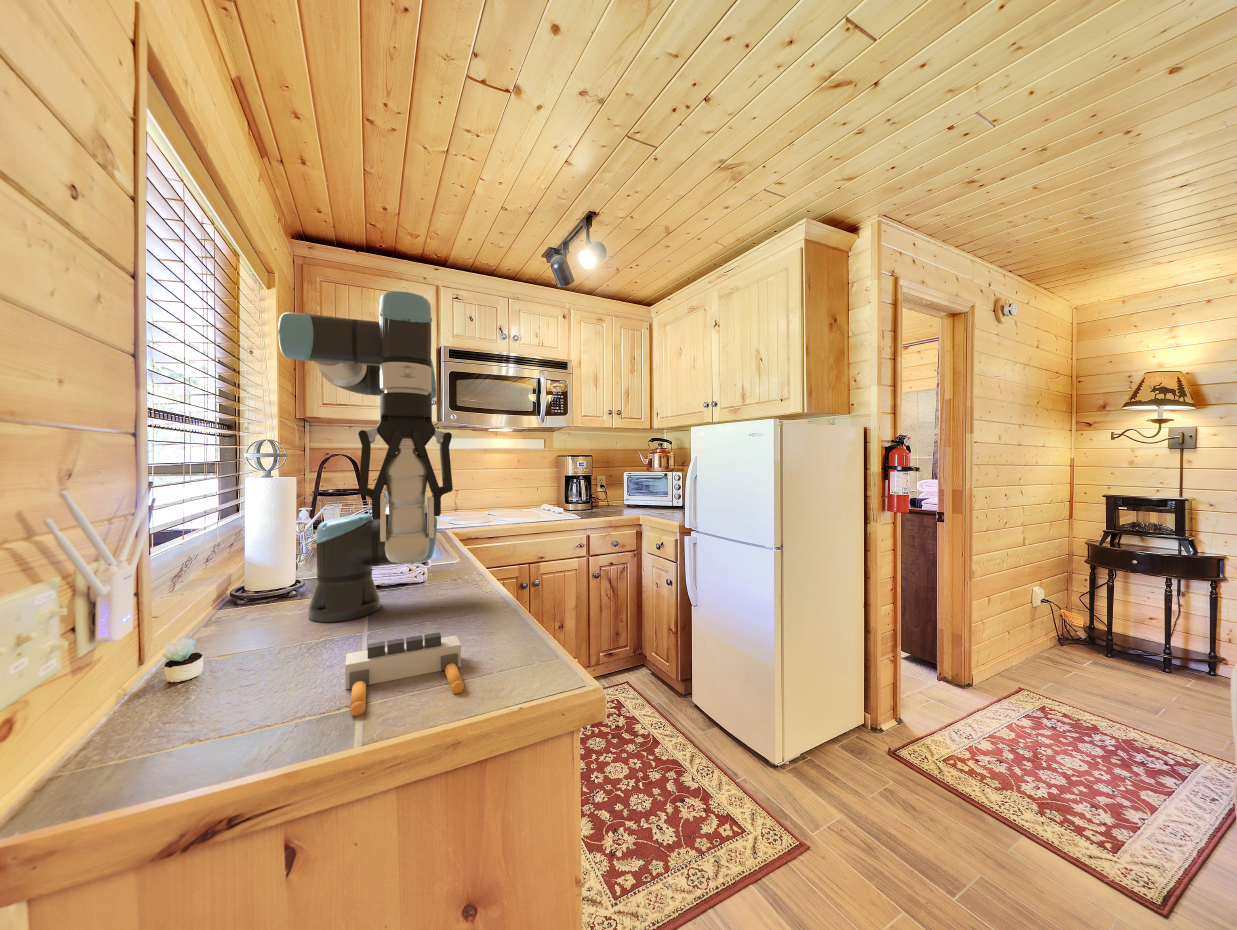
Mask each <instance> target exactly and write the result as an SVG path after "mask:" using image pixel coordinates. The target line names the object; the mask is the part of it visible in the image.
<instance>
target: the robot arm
mask: <svg viewBox="0 0 1237 930" xmlns="http://www.w3.org/2000/svg"><path fill="white" fill-rule="evenodd" d="M431 309H432V308H431V303H430V301H429V300H428V299H427V298H426V297H424V296H422V295H420V294H417V293H413V292H408V291H395V290H394V291H388V292H385V293H383V294H381V296H380V298H379V311H378V316H379V321H377V320H367V319H356V318H347V317H346V318H345V317H337V316H330V315H329V316H328V315H320V314H312V313H308V312H302V313H301V312H284V313H283V314H281V315H280V317H279V320H278V326H277V327H278V329H277V333H278V344H279V349H280V352H281V354H282V355H283V356H284V357H285V358H286V359H288V360H289V359H290V360H297V361H302V362H306V361H307V362H308V361H310V362H313V363H314V364H315V365H317V367H318V370H319V372H320V374H321V375H322V377H323V378H324V379H325V380H327V382H329V383H330V384H332V385H334V386H336V387H338V388H340V389H343V390H345V391H349V392H351V393H354V394H355V393H356V394H361V395H364V396H377V397H378V396H379V405H380V406H379V417H380V418H379V422H378V424H377V426H376V427H375V428H371V429H368V430H364V429H361V430H360V431H358V433H357V435H358V438H359V441H360V445H361V455H360V465H359V466H360V467H359V477H358V478H359V479H358V480H359V481H358V494H359V495H361V496H365V497H367V498H370V499H371V514H370V513H359V514H350V515H346V516H345V515H344V516H340V517H336V518H331V519H328V520H325V521H322V522H320V523H319V525H318V526H317V529H316V540H315V544H316V586H315V588H314V591H313V594H312V595H311V596H312V597H311V599H310V602H309V606H308V611H307V612H308V615H307V616H308V619H309V620H311V621H313V622H321V623H322V622H323V623H329V622H330V623H331V622H343V621H348V620H353V619H359V618H363V617H366V616H369V615H371V614H374V613H376V612H377V611H379V610H380V608H381V598H380V595H379V592H378V589H377V586H376V585H375V582H374V579H373V571H372V570H373V567H383V566H395V565H405V564H404V563H395V562H390V561H389V560H388V558H387V557H386V553H385V541H386V536H387V534H388V533H387V532H388V518H389V504H388V503H387V499H386V497H381V496H382V492H383V490H384V487H385V486H386V479H387V477H386V472H385V471H386V468H387V465H388V464H389V462H390V461H391V460H392V458H394V457H395V454H396V452H397V451H398V449H397V448H398V446H399V443H400V440H401V437H413V439H414V441H415V444H416V447H417V449H416V452H418V454H419V456H420V459H421V460H422V461H423V463H424V464H425V466H426V469H427V485H428V486H429V490H430V492H431V496H426V503H425V504H424V505H425V520H426V532H427V534H428V538H429V551H428V554H427V556H426V557H425V558H424V559H422V560H419V561H416V562H412V563H407V564H411V565H413V564H417V563H419V564H420V563H427V562H428V561H430V560H431V559H432V557H433V555H434V551H435V548H436V547H435V546H436V541H437V540H436V539H437V533H438V532H437V531H438V529H437V527H438V518H437V517H440V516H441V513H442V503H441V502H442V500H441V498H442V496H443V495H446V494H448V493H451V492H452V491H453V488H454V486H453V479H452V477H453V476H452V463H451V455H450V444H451V441H452V439H453V434H452V433H451V432H448V431H447V432H445V431H441V430H438V429H436V427H435V426H434V423H433V414H432V413H433V405H432V404H433V401H432V400H434V399H436V398H437V383H436V382H437V381H436V375H435V369H434V364H433V360H432V322H433V318H432V311H431ZM376 436H379V437H380V438H381V439H382V440H383V442H384V443H385V444H386V446H387V450H386V453H385V456H384V459H383V462H382V464H381V467H380V470H379V473H378V476H377V477H376V481H375V483H374V487H373V488H370V487H369V477H370V476H369V475H370V463H371V453H372V452H371V451H372V446H371V444H374V443H375V442H376ZM433 437H435V438H436V439H435V440H436V443H437V444H438V445H439V458H440V470H441V471H440V472H441V481H442V486H440V485H439V482H438V479H437V476H436V474H435V471H434V469H433V466H432V464H431V460H430V458H429V453H428V451H427V448H426V446H427V444H428V443H429V442H430V441H431V439H432V438H433ZM407 564H406V565H407Z"/></svg>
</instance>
